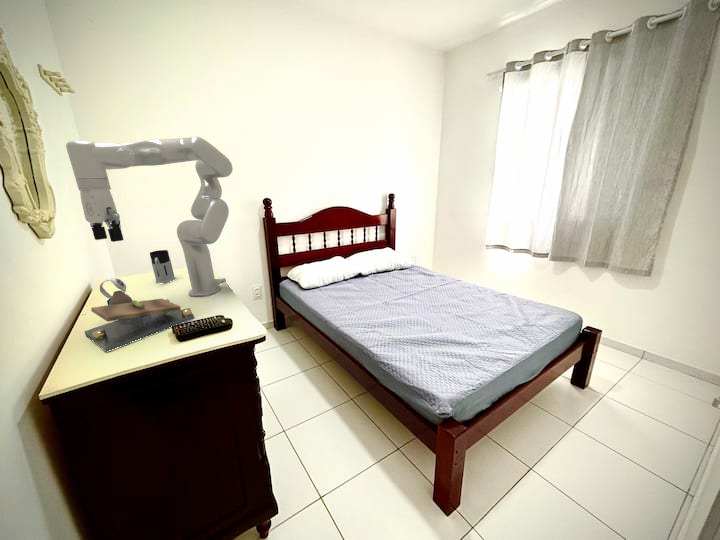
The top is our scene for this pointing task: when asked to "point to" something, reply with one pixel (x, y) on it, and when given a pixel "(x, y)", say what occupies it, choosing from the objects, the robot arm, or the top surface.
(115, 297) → the vase
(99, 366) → the top surface
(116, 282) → the watch
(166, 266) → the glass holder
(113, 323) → the base
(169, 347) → the top surface
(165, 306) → the plate
